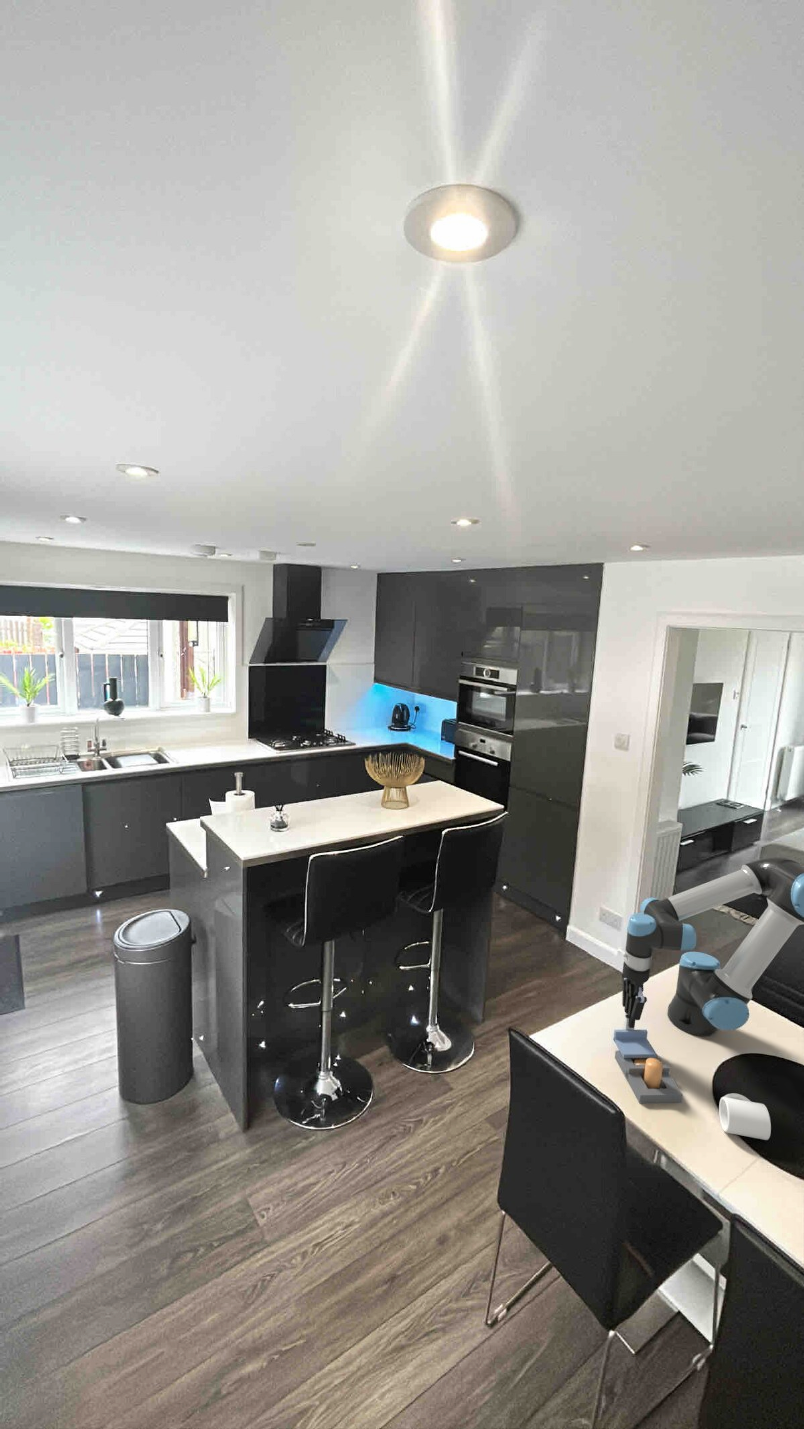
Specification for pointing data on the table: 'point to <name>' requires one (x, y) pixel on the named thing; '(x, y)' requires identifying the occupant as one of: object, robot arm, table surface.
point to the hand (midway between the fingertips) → (628, 1033)
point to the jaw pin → (653, 1073)
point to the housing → (636, 1082)
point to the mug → (744, 1117)
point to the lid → (634, 1044)
